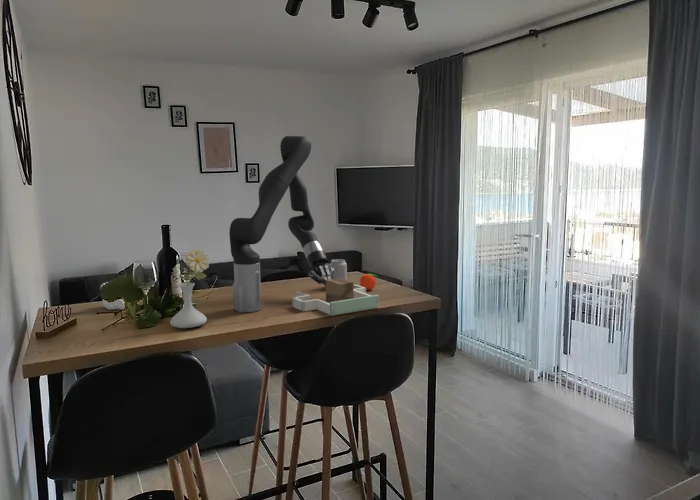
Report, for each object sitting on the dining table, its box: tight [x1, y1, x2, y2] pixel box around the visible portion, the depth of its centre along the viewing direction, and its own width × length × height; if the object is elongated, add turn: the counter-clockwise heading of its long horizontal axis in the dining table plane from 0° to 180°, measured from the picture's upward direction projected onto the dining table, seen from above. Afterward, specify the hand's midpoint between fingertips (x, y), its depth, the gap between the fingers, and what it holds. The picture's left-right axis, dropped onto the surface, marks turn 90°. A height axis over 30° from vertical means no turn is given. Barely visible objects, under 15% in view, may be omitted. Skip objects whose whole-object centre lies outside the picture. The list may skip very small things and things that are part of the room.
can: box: [329, 258, 348, 281], centre depth 219 cm, size 8×8×12 cm
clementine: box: [359, 273, 379, 291], centre depth 213 cm, size 8×7×7 cm
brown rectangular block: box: [325, 278, 354, 303], centre depth 189 cm, size 6×10×9 cm, turn 34°
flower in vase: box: [169, 248, 211, 329], centre depth 161 cm, size 13×11×25 cm
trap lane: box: [291, 283, 380, 316], centre depth 190 cm, size 32×27×4 cm
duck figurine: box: [100, 281, 126, 311], centre depth 184 cm, size 12×8×11 cm
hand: (331, 290), depth 193 cm, fingers closed
